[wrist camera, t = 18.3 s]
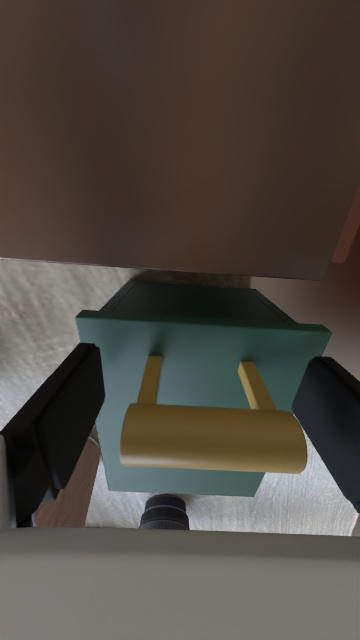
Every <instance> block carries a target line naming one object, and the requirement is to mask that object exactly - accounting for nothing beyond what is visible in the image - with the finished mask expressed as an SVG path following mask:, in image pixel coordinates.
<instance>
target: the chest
mask: <svg viewBox="0 0 360 640" xmlns="http://www.w3.org/2000/svg"><path fill="white" fill-rule="evenodd" d="M99 311H108V312H124V313H140V314H156V315H172V316H188V317H204V318H221V319H237V320H253V321H269V322H285V323H297V322H295V321H294V320H293V319H292V318H290V317H289V316H288V315H287V314H286V313H284V312H283V311H282V310H280V309H279V308H278V307H277V306H276V305H275V304H273V303H272V302H271V301H269V300H268V299H267V298H266V297H265V296H263V295H262V294H261V293H260V292H258V291H257V290H256V289H248V288H233V287H218V286H203V285H188V284H172V283H157V282H142V281H128V282H127V283H126V284H125V285H124V286H123V287H122V288H121V289H120V290H119V291H118V292H117V293H116V294H115V295H114V296H113V297H112V298H111V299H110V300H109V301H108V302H107V303H106V304H105V305H104V306H103V307H102V308H101V309H100V310H99Z"/></svg>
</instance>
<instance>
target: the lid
mask: <svg viewBox="0 0 360 640" xmlns="http://www.w3.org/2000/svg"><path fill="white" fill-rule="evenodd" d="M75 319H76V324H77V329H78V334H79V339H80V343H81V342H83V343H95V345H96V347H99V348H100V352H101V361H102V370H103V378H104V387H105V400H104V403H103V405H102V408H101V410H100V412H99V414H98V417H97V419H96V421H95V422H96V427H97V432H98V438H99V443H100V448H101V453H102V458H103V463H104V469H105V474H106V479H107V484H108V489H109V491H125V492H149V493H173V494H197V495H221V496H245V497H254V495H255V493H256V491H257V489H258V487H259V485H260V483H261V481H262V479H263V476H264V474H265V472H270V473H293V474H298V473H301V472H302V471H303V470H304V469H305V467H306V464H307V445H306V440H305V436H304V433H303V430H302V428H301V426H300V424H299V422H298V421H297V419H296V418H295V417H294V416H293V414H294V413H293V410H292V403H293V400H294V398H295V395H296V393H297V390H298V388H299V385H300V383H301V380H302V378H303V375H304V373H305V370H306V368H307V365H308V363H309V361H310V360H311V359H313V358H314V357H316V356H322V354H323V352H324V350H325V347H326V345H327V343H328V341H329V339H330V337H331V335H332V332H331V331H329V330H328V329H327V328H326V327H324V326H323V325H317V324H301V323H285V322H269V321H253V320H237V319H221V318H204V317H188V316H172V315H156V314H140V313H124V312H108V311H92V310H82V311H81V312H80V313H79V314H78V315H77V316H76V318H75Z"/></svg>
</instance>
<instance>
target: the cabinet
mask: <svg viewBox="0 0 360 640" xmlns="http://www.w3.org/2000/svg"><path fill="white" fill-rule="evenodd" d="M359 183H360V0H0V259H4V260H19V261H33V262H48V263H63V264H78V265H93V266H108V267H122V268H137V269H152V270H167V271H182V272H197V273H211V274H226V275H241V276H256V277H273V278H286V279H300V280H301V279H302V280H315V281H323V280H324V278H325V276H326V273H327V271H328V268H329V265H330V262H331V260H332V257H333V254H334V251H335V249H336V246H337V243H338V240H339V238H340V235H341V232H342V230H343V227H344V224H345V221H346V219H347V216H348V213H349V210H350V208H351V205H352V202H353V199H354V197H355V194H356V191H357V188H358V186H359Z"/></svg>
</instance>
